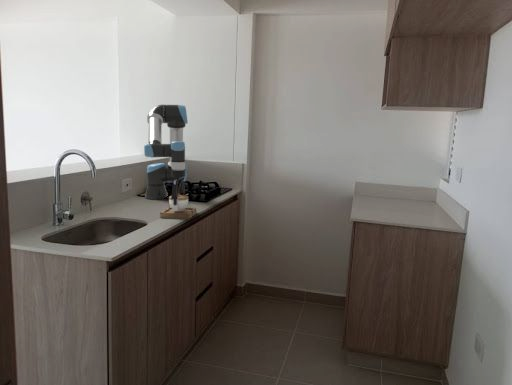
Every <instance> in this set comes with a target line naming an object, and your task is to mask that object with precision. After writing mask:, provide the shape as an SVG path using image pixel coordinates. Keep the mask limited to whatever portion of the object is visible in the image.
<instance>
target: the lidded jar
mask: <svg viewBox="0 0 512 385" xmlns="http://www.w3.org/2000/svg"><path fill="white" fill-rule="evenodd" d="M171 197H172V195H170V196H169V195H168V202H169V207H171V208H172V209H173V199H171ZM188 205H189V196H188V195H180V194H179V193H178V211H184V209H186V208H188Z"/></svg>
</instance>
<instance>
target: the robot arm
mask: <svg viewBox="0 0 512 385" xmlns="http://www.w3.org/2000/svg"><path fill="white" fill-rule="evenodd" d="M146 119H147V120H146V121H147V124H148V138H147V139H148V141H147V143H145V144H144V147H143V148H144V149H143V150H144V156H145V158H169V161H168V162H167V165H166V164H165V163H164V162H158V163H153V164H152V163H151V164H149V165H147V168H146V175H147V176H146V178H147V182H146V183H147V187H146V191H145V194H144V198H145V199H147V200H162V199H163V200H165V199H167V198H168V197H169V195H168V194H169V193H168V191H167V189H166V183H172V186H171V187H172V188H171V189H172V190H171V196H172V197H171V199H173V211H178V194H180V195H185V196H187V195H186V189H185V188H186V186H185V182H186V180H187V176H188V175H187V174H188V165H186V143H185V141H184V128H186V124H187V125H188V114H187V108H186V106H185V105H183V104H182V105H181V104H158V105H156V106H154V107H153V108H152V109H151V110H150V111H149V112H148V114H147V116H146ZM163 124H166V125H167V127H168V128H169V143H162V125H163ZM167 196H168V197H167ZM166 197H167V198H166ZM164 198H165V199H164Z"/></svg>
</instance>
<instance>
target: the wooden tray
mask: <svg viewBox="0 0 512 385" xmlns="http://www.w3.org/2000/svg"><path fill="white" fill-rule="evenodd" d="M159 214H160V215H159V216H160V218H161V219H177V218H181V219H180V220H189V219H191V218H192V217H193V216H194V215H196V214H197V207H186V209H184V211H173V209H172V208H171V207H170V206H168V207H167V208H166V209H164V210H162V211H161V212H160V213H159Z"/></svg>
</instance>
